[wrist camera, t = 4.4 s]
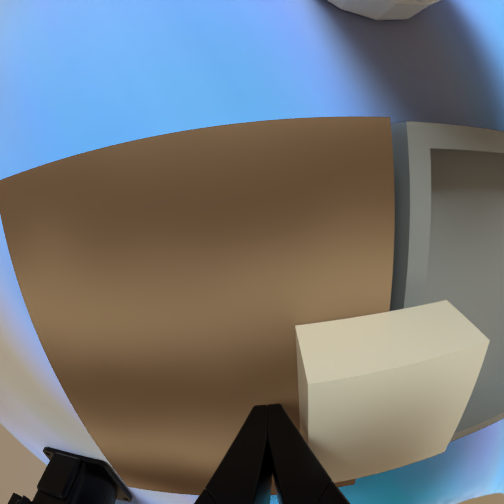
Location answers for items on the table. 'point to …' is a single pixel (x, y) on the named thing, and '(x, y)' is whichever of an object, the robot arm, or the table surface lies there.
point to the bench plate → (198, 277)
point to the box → (453, 240)
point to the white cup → (384, 8)
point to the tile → (385, 386)
